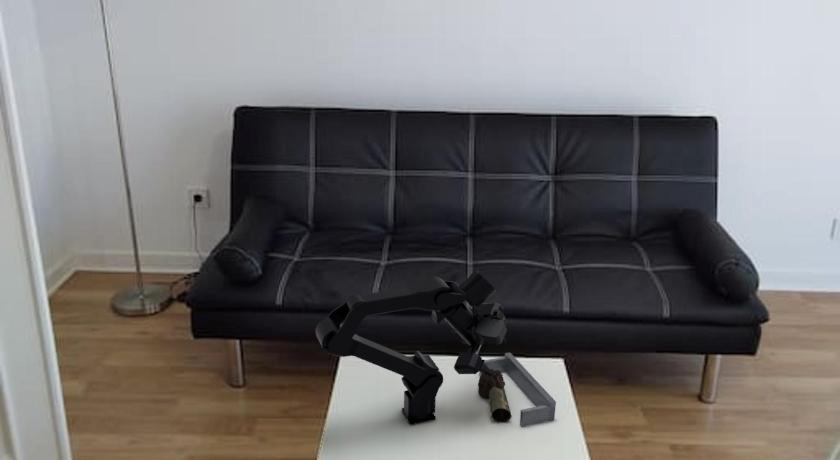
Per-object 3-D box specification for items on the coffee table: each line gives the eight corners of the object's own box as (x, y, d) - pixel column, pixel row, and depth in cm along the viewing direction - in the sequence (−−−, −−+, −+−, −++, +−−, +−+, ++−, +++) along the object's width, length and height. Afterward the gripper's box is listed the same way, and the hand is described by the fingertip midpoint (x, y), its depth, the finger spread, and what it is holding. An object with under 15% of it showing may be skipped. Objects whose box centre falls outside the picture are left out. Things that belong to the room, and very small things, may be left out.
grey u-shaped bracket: (521, 426, 180) (523, 408, 178) (479, 374, 201) (480, 357, 199) (554, 420, 183) (555, 401, 181) (509, 369, 204) (510, 352, 202)
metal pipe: (511, 424, 182) (512, 403, 180) (482, 424, 182) (483, 403, 180) (502, 382, 198) (503, 363, 196) (475, 382, 198) (476, 363, 196)
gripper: (474, 352, 168) (512, 392, 176) (502, 284, 178) (537, 325, 186) (436, 353, 176) (474, 391, 183) (466, 288, 186) (501, 327, 193)
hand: (498, 358), depth 186 cm, fingers open, 9 cm apart
